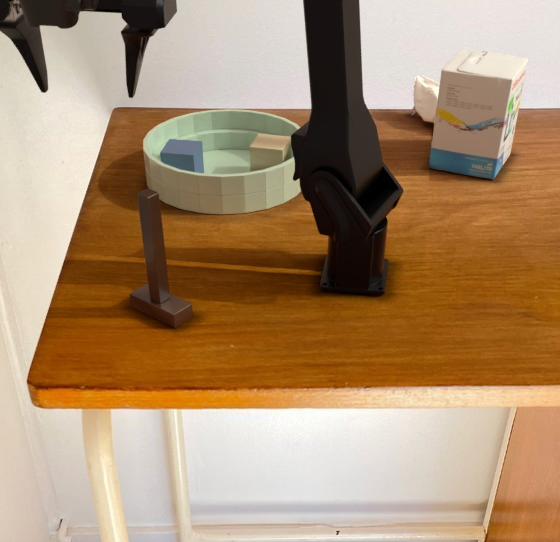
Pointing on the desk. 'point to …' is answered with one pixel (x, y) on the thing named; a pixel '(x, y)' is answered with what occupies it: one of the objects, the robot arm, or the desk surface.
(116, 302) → the desk surface
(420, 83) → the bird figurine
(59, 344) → the desk surface
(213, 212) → the bowl
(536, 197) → the desk surface
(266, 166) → the cream block
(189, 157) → the slate block
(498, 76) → the ink box
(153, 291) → the block-headed hammer
